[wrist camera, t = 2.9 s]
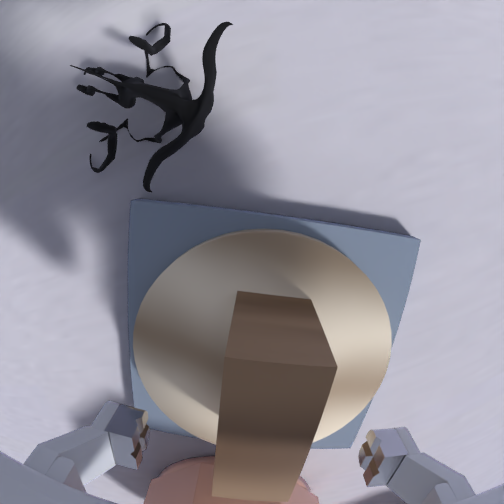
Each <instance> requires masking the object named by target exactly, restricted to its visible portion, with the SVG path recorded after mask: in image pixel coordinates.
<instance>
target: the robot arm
mask: <svg viewBox="0 0 504 504" xmlns="http://www.w3.org/2000/svg"><path fill="white" fill-rule="evenodd" d="M147 421H148V412H147V411H146V410H142V409H138V408H134V407H131V406H127V405H123V404H119V403H116V402H112V401H108V402H106V403H105V405H104V406H103V408H102V409H101V411H100V412H99V414H98V416H97V417H96V419H95V420H94V422H93V423H92V425H91V426H84V427H82V428H79V429H77V430H74V431H72V432H69V433H67V434H64V435H62V436H59V437H56V438H54V439H51V440H48V441H46V442H43V443H40V444H38V445H37V447H36V448H35V449H34V451H33V452H32V453H31V455H30V456H29V457H28V459H27V460H26V461H25V463H24V464H22V463H20V462H18V461H17V460H15V459H13V458H11V457H10V456H8V455H6V454H4V453H3V452H1V451H0V504H117V503H114V502H111V501H108V500H105V499H102V498H99V497H96V496H94V495H91V494H88V493H87V492H86V490H85V488H84V485H86V484H87V483H89V482H91V481H92V480H94V479H95V478H97V477H99V476H100V475H102V474H103V473H105V472H106V471H108V470H109V469H111V468H113V467H114V466H116V465H115V464H117V465H120V466H124V467H128V468H132V469H136V470H138V468H139V465H140V463H141V460H142V458H143V457H142V451H144V450H146V448H147V445H148V441H149V433H150V430H149V426H148V425H147V424H146V423H147ZM366 439H367V442H365V443H364V444H363V445H362V446H361V449H360V451H359V463H360V467H362V468H363V469H364V470H366V471H365V472H364V474H363V476H364V479H365V482H366V485H367V487H372V486H382V485H387V487H388V488H389V489H391V490H392V491H393V492H394V493H395V494H396V495H397V496H398V497H400V498H401V499H402V500H403V501H404V502H405V503H406V504H504V484H501V485H499V486H497V487H495V488H492V489H490V490H487V491H485V492H482V493H480V494H477V495H476V494H475V493H474V491H473V489H472V488H471V486H470V484H469V482H468V481H467V479H466V477H465V476H464V475H462V474H460V473H458V472H456V471H455V470H453V469H451V468H449V467H448V466H446V465H444V464H442V463H441V462H439V461H437V460H435V459H434V458H432V457H430V456H429V455H427V454H425V453H420V451H419V449H418V447H417V445H416V443H415V442H414V440H413V438H412V436H411V434H410V433H409V431H408V429H407V428H406V427H399V428H389V429H377V430H370V431H369V432H368V434H367V436H366Z"/></svg>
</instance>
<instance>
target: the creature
mask: <svg viewBox="0 0 504 504" xmlns="http://www.w3.org/2000/svg"><path fill="white" fill-rule="evenodd" d="M163 25H165V32H164V37H163V38H162V39H161V40H159V41H158V42H156V43H155V44H154V45H153V46H151V45H150V44H149V43H148V42H147V41H146V40H143V39H141V38H139V37H134V36H130V37H129V40H130V42H132V43H133V44H134V45H135V46H137V47H139V48H141V49H143V50H145V54H146V58H147V75H146V77H148V76H149V75H150V74H151V73H152V72H153V71H155V70H153V69H150V66H149V59H148V54H150V55H151V56H152V55H154V54H157V53H158V52H159V51H161V50H162V49H163V48H164V47H165V46H166V45H167V44H168V43H169V42H170V32H171V28H170V26H169V25H168V24H166V23H161V24H158V25H156V26H155V27H153V28H152V29H151V30H153V29H154V28H156V27H157V26H163ZM229 25H233V24H232V23H230V22H224V23H221V24H220V25H219V26H217V28H216V29H215V30H214V31H213V33H212V35H211V36H210V38H209V39H208V41H207V43H206V45H205V47H204V50H203V68H204V75H205V83H204V89H203V91H202V94H201V95H200V97H199V98H198V99H196V100H192V96H191V93H190V90H189V86H188V83H189V82H190V80H189V79H188V78H186V77H184V76H182V75H181V74H179V73H178V72H177V71H176V70H175V69H174V67H173V66H164V67H171V68H173V70H174V71H175V73H176V74H177V75H178V76H179V77H180V78H181V79H182V80H183V82H184V84H183V85H182V86H181V87H180V88H179V89H178V90H171V89H166V88H161V87H157V86H153V85H149V84H145V83H144V80H143V79H141V78H139V77H134V78H133V77H128V76H125V75H122V74H113V73H110V72H108V71H106V70H104V69H103V68H101V67H97V68H90V67H88V68H86V69H85V70H84V69H81V68H78V67H75V66H72V65H70V66H72V67H75V68H78V69H81V70H83V71H84V75H85V74H86V73H89V74H92V75H95V76H98V77H100V78H102V77H103V76H102V75H104V73H109V74H111V75H114V76H115V77H116V78H118V79H119V80H120V81H122V82H118V81H115V80H112V79H109V78H106V77H103V78H102V79H104V78H105V79H104V80H106V79H107V80H106V81H108V82H110V83H112V84H113V85H114V86H116V88H117V90H118V94H119V95H116V94H111V93H106V92H103V91H100V90H98V89H96V88H94V87H93V86H88V87H86V86H83V85H78V86H77V87H76V88H77V90H79V91H81V92H83V93H85V94H87V95H90V96H93V95H94V94H95V92H99V93H103V94H105V95H106V96H107V97H108V98H110V99H112V100H113V101H115V102H116V103H118V104H120V105H121V106H122V107H124V108H132V107H133V106H134V105H135V103H136V98H137V97H141V98H144V99H146V100H149V101H150V102H152V103H154V104H156V105H157V106H159V107H160V108H162V109H163V110H164V111H165V112H166V115H165V121H164V125H163V127H162V129H161V131H160V132H159V133H158V134H156V135H155V136H154V137H155V138H144V139H141V140H135V139H134V138H133V137H132V135H131V134H130V133H129V134H130V136H131V137H132V138H133V139H134V140H135V141H137V142H139V141H143V140H148V141H152V142H157V143H161V136H162V135H164V134H165V133H166V132H168V131H170V130H171V129H173V128H175V127H177V126H179V125H181V124H182V132H181V134H180V135H179V136H178V137H177V138H176V139H174V140H173V141H171V142H170V143H168V144H167V145H165V146H163V147H162V148H160V149H159V150H158V151H157V152H156V153H155V154H154V155H153V156H152V158H151V159H150V161H149V163H148V166H147V169H146V171H145V175H144V179H143V186H144V189H145V190H146V191H148V192H152V191H151V190H150V182H151V179H152V177H153V175H154V173H155V171H156V169H157V168H158V166H159V165H160V164H161V162H162V161H163V160H165V159H166V158H168V157H169V156H171V155H172V154H174V153H175V152H176V151H178V150H179V149H180V148H181V147H183V146H184V145H185V144H186V143H187V142H188V141H189V140H190V139H191V138H193V137H194V136H196V135H197V134H199V133H200V132H201V131H202V129H203V128H204V123H205V119H206V117H207V116H208V114H209V113H210V112H211V110H212V107H213V102H214V95H213V91H214V86H215V80H216V64H215V54H216V48H217V44H218V41H219V39H220V37H221V35H222V33H223V31H224V30H225V29H226V28H227V27H228V26H229ZM151 30H149V32H150V31H151ZM149 32H148V33H149ZM148 33H147V34H146V36H147V35H148ZM160 68H162V67H160ZM158 69H159V68H158ZM156 70H157V69H156ZM127 120H128V119H126V120H125V121H124V122H123V123H122V124H121V125H120V126H119V127H118V128H116V127H114V126H111V125H108V124H106V123H100V122H90V123H88V124H87V127H88V128H90V129H92V130H95V131H98V132H103V133H108V134H109V135H108V136H106V137H104V138H103V139H101V140H100V141H101V142H102V141H104V140H106V139H107V138H108V155H107V157H106V159H105V161H104V162H103V164H102V165H101V166H100V168H99V169H97V168H93V167H92V164H91V154H90V165H91V168H92V170H93V171H94V172H97V173H99V172H101V171H103V170H104V169H105V168H106V167H107V166H108V165H109V164H110V163H111V162H112V161H113V160H114V159H115V154H116V148H117V133H116V132H117V130H119V129H120V128H122V127H125V128H127V129H128V126H127V125H128V121H127ZM128 131H129V130H128ZM100 141H99V142H100Z"/></svg>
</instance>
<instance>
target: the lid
mask: <svg viewBox="0 0 504 504" xmlns="http://www.w3.org/2000/svg"><path fill="white" fill-rule="evenodd" d="M391 346H392V341H391V326H390V320H389V316H388V313H387V310H386V307H385V304H384V302H383V300H382V298H381V296H380V294H379V292H378V290H377V289H376V287H375V286H374V285H373V283H372V282H371V281H370V279H369V278H368V277H367V275H366V274H365V273H363V272H362V271H361V270H360V269H359V268H358V267H357V266H356V265H355V264H354V263H353V262H352V261H351V260H350V259H349V258H348V257H346V256H345V255H344V254H342V253H341V252H339V251H338V250H337V249H335V248H334V247H332V246H330V245H328V244H326V243H324V242H322V241H320V240H318V239H315V238H312V237H309V236H307V235H304V234H301V233H296V232H291V231H286V230H278V229H249V230H241V231H236V232H231V233H226V234H223V235H220V236H217V237H214V238H211V239H209V240H206V241H204V242H202V243H200V244H199V245H197V246H195V247H193V248H191V249H190V250H188V251H187V252H185V253H184V254H182V255H181V256H180V257H178V258H177V259H176V260H175V261H174V262H173V263H172V264H171V265H170V266H169V267H168V268H167V269H165V270H164V271H163V273H162V274H161V275H160V276H159V277H158V278H157V279H156V281H155V282H154V283H153V284H152V286H151V287H150V288H149V290H148V292H147V293H146V295H145V297H144V299H143V301H142V303H141V305H140V308H139V311H138V314H137V316H136V321H135V326H134V331H133V351H134V358H135V363H136V367H137V370H138V374H139V376H140V378H141V381H142V383H143V385H144V387H145V389H146V391H147V392H148V394H149V395H150V397H151V399H152V400H153V401H154V402H155V404H156V405H157V406H158V407H159V409H160V410H161V411H162V412H163V413H164V414H165V415H166V416H167V417H168V418H169V419H171V420H172V421H173V422H174V423H176V424H177V425H178V426H180V427H181V428H182V429H184V430H186V431H187V432H189V433H191V434H192V435H194V436H196V437H198V438H200V439H203V440H205V441H207V442H210V443H213V444H215V445H216V451H215V462H214V474H213V486H212V496H215V497H222V498H231V499H242V500H254V501H273V502H288V501H289V499H290V496H291V494H292V492H293V490H294V487H295V485H296V483H297V480H298V478H299V475H300V473H301V471H302V468H303V466H304V463H305V461H306V458H307V456H308V453H309V450H310V448H311V445H312V443H313V442H316V441H318V440H320V439H323V438H325V437H327V436H329V435H331V434H332V433H334V432H336V431H337V430H339V429H341V428H342V427H344V426H345V425H346V424H348V423H349V422H350V421H351V420H353V419H354V418H355V417H356V416H357V415H358V414H359V413H360V412H361V411H362V410H363V409H364V408H365V407H366V406H367V404H368V403H369V402H370V401H371V399H372V398H373V396H374V395H375V393H376V392H377V390H378V388H379V387H380V385H381V383H382V380H383V378H384V376H385V374H386V371H387V367H388V364H389V360H390V354H391Z"/></svg>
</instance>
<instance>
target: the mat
mask: <svg viewBox="0 0 504 504" xmlns="http://www.w3.org/2000/svg"><path fill="white" fill-rule="evenodd" d="M249 229H278V230H286V231H291V232H296V233H301V234H304V235H307V236H309V237H312V238H315V239H318V240H320V241H322V242H324V243H326V244H328V245H330V246H332V247H334V248H335V249H337V250H338V251H339V252H341V253H342V254H344V255H345V256H346V257H348V258H349V259H350V260H351V261H352V262H353V263H354V264H355V265H356V266H357V267H358V268H359V269H360V270H361V271H362V272H363V273H365V274H366V275H367V277H368V278H369V279H370V281H371V282H372V283H373V285H374V286H375V287H376V289H377V290H378V292H379V294H380V296H381V298H382V300H383V302H384V304H385V307H386V310H387V313H388V316H389V320H390V326H391V341H392V345H393V342H394V339H395V336H396V333H397V330H398V327H399V323H400V320H401V317H402V313H403V310H404V307H405V303H406V299H407V296H408V292H409V288H410V284H411V280H412V276H413V272H414V268H415V264H416V260H417V255H418V251H419V246H420V241H421V240H420V239H417V238H415V237H413V236H409V235H403V234H398V233H392V232H386V231H380V230H374V229H368V228H362V227H356V226H350V225H344V224H337V223H331V222H324V221H318V220H311V219H304V218H297V217H290V216H283V215H276V214H268V213H261V212H253V211H246V210H238V209H230V208H221V207H213V206H204V205H196V204H187V203H177V202H168V201H158V200H148V199H135V200H131V205H130V221H129V241H128V332H129V352H130V367H131V380H132V391H133V401H134V408H138V409H142V410H146V411H147V412H148V421H147V423H146V424H147V425H148V426H149V429H154V430H158V431H162V432H167V433H172V434H177V435H182V436H188V437H193V438H198V437H196V436H194V435H192V434H191V433H189V432H187V431H186V430H184V429H182V428H181V427H180V426H178V425H177V424H176V423H174V422H173V421H172V420H171V419H169V418H168V417H167V416H166V415H165V414H164V413H163V412H162V411H161V410H160V409H159V407H158V406H157V405H156V404H155V402H154V401H153V400H152V399H151V397H150V395H149V394H148V392H147V391H146V389H145V387H144V385H143V383H142V381H141V378H140V376H139V374H138V370H137V367H136V363H135V358H134V351H133V331H134V326H135V321H136V316H137V314H138V311H139V308H140V305H141V303H142V301H143V299H144V297H145V295H146V293H147V292H148V290H149V288H150V287H151V286H152V284H153V283H154V282H155V281H156V279H157V278H158V277H159V276H160V275H161V274H162V273H163V271H164V270H165V269H167V268H168V267H169V266H170V265H171V264H172V263H173V262H174V261H175V260H176V259H177V258H178V257H180V256H181V255H182V254H184V253H185V252H187V251H188V250H190V249H191V248H193V247H195V246H197V245H199V244H200V243H202V242H204V241H206V240H209V239H211V238H214V237H217V236H220V235H223V234H226V233H231V232H236V231H241V230H249ZM391 348H392V346H391ZM372 399H373V398H372ZM372 399H371V401H372ZM371 401H370V402H369V403H368V404H367V406H366V407H365V408H364V409H363V410H362V411H361V412H360V413H359V414H358V415H357V416H356V417H355V418H354V419H353V420H351V421H350V422H349V423H348V424H346V425H345V426H344V427H342V428H341V429H339V430H337V431H336V432H334V433H332V434H331V435H329V436H327V437H325V438H323V439H320V440H318V441H316V442H313V443H312V445H311V448H310V449H339V448H351V446H352V444H353V442H354V440H355V437H356V435H357V433H358V431H359V429H360V427H361V424H362V422H363V420H364V418H365V415H366V413H367V411H368V408H369V406H370V404H371ZM199 439H200V438H199Z"/></svg>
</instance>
